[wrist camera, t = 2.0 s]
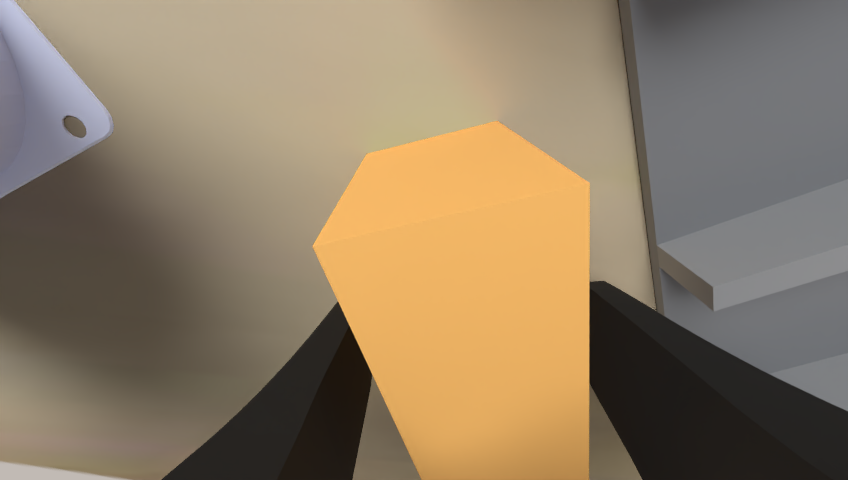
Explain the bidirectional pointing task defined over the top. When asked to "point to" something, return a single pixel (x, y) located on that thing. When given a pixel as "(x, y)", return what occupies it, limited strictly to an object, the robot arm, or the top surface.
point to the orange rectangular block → (471, 301)
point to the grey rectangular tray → (747, 176)
